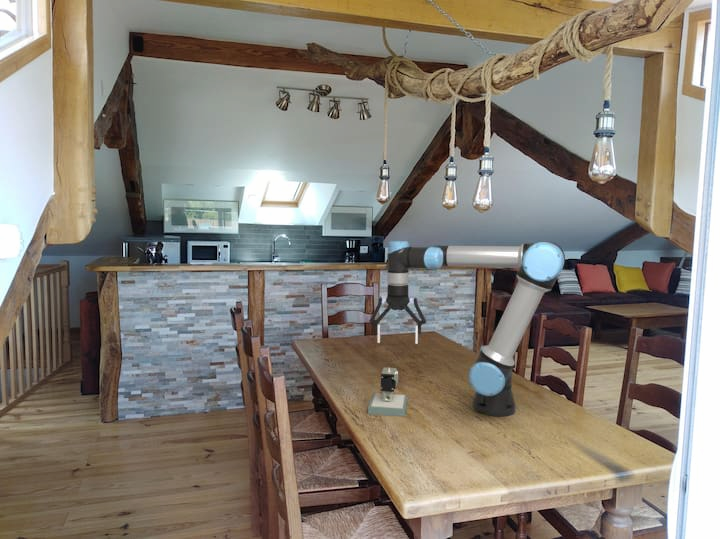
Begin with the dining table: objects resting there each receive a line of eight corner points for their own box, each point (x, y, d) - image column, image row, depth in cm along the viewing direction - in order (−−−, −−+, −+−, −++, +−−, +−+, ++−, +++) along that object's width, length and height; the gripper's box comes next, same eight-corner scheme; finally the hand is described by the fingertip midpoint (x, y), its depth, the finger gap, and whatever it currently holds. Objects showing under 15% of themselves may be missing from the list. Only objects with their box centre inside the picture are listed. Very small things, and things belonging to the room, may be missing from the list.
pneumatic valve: (379, 405, 182) (380, 372, 181) (384, 394, 193) (384, 362, 192) (395, 406, 181) (396, 373, 180) (398, 395, 192) (399, 363, 191)
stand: (407, 401, 194) (407, 394, 194) (405, 416, 179) (405, 408, 179) (373, 399, 196) (373, 392, 195) (368, 414, 181) (368, 406, 181)
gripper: (432, 283, 187) (432, 340, 189) (364, 282, 190) (364, 339, 192) (433, 285, 180) (432, 345, 182) (362, 285, 182) (362, 344, 184)
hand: (397, 342), depth 187 cm, fingers open, 13 cm apart
